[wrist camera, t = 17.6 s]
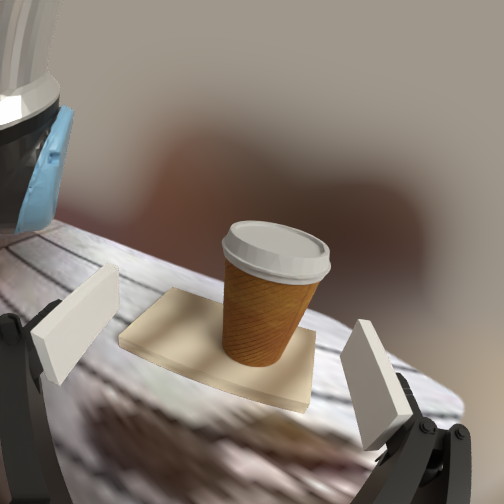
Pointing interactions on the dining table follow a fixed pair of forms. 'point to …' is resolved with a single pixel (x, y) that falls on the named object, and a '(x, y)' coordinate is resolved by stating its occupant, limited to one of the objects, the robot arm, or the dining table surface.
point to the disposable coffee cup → (267, 288)
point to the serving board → (218, 352)
